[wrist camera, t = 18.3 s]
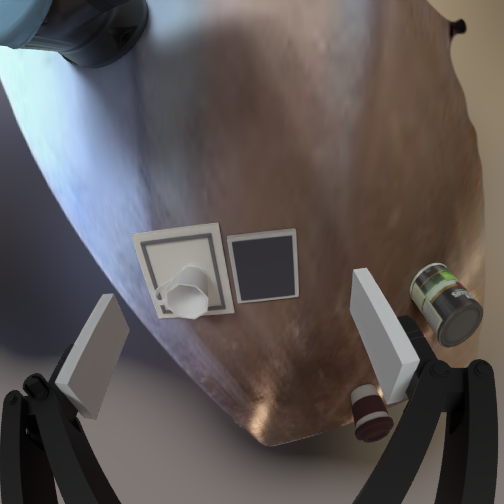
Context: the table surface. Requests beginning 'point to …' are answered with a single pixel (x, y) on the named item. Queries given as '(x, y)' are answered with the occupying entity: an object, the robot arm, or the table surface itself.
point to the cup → (186, 292)
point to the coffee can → (445, 304)
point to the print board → (185, 262)
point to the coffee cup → (370, 414)
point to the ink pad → (264, 265)
